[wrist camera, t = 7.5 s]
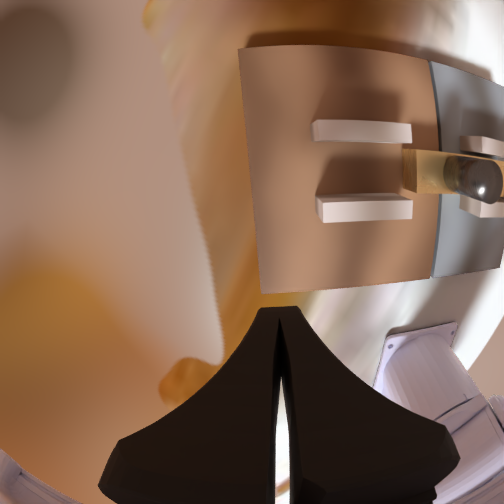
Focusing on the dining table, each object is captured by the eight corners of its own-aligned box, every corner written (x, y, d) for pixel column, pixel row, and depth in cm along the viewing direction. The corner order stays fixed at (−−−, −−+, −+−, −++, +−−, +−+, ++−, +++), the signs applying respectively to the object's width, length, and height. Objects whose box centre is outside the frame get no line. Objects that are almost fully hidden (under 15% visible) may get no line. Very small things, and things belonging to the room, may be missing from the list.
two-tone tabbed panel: (262, 280, 19) (259, 314, 15) (241, 59, 14) (232, 32, 10) (486, 258, 17) (516, 279, 13) (489, 88, 12) (523, 84, 8)
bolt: (402, 188, 14) (449, 205, 10) (401, 148, 13) (450, 151, 9) (488, 191, 14) (534, 208, 9) (488, 159, 13) (536, 168, 8)
